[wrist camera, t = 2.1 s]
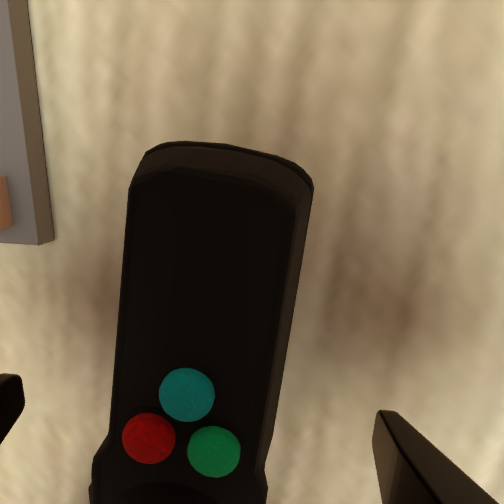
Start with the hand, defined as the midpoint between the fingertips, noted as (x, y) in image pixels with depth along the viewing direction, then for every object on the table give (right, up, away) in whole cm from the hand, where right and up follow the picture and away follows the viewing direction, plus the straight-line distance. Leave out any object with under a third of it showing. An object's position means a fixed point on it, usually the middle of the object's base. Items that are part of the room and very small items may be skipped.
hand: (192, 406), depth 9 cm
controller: (+1, +2, +7) cm, 7 cm away
